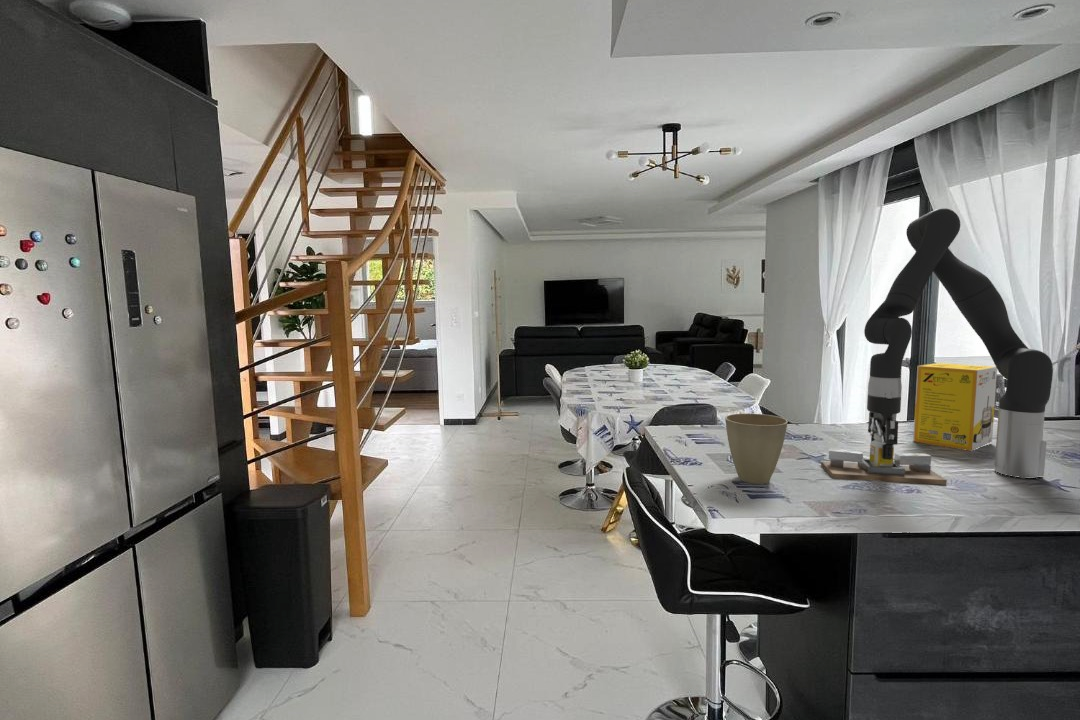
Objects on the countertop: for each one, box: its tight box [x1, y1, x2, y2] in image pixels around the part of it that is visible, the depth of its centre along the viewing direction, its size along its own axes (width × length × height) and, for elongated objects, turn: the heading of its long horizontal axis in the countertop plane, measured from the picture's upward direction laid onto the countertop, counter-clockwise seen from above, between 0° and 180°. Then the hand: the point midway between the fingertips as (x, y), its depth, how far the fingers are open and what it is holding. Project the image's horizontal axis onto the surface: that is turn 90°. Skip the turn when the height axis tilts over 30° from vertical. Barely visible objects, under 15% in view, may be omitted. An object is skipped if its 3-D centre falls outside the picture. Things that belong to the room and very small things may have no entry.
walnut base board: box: [820, 461, 948, 486], centre depth 151 cm, size 26×12×1 cm, turn 77°
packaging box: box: [912, 362, 998, 451], centre depth 184 cm, size 16×16×25 cm
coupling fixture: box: [828, 448, 932, 476], centre depth 151 cm, size 24×9×4 cm, turn 77°
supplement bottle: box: [868, 433, 895, 467], centre depth 150 cm, size 5×5×10 cm
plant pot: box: [724, 412, 789, 485], centre depth 146 cm, size 15×15×16 cm
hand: (881, 454), depth 150 cm, fingers open, 8 cm apart
